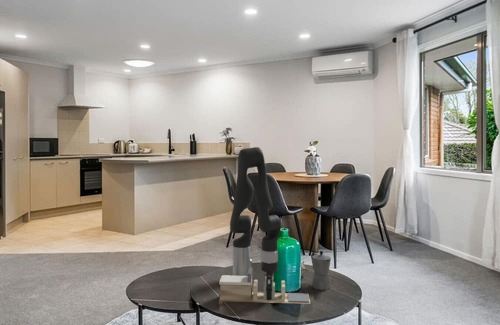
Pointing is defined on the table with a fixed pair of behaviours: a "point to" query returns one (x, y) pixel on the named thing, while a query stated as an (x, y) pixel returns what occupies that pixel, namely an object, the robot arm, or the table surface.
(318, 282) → the coffeepot
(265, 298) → the sage block
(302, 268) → the game die
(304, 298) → the slate pad
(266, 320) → the table surface
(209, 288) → the table surface
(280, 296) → the puzzle board
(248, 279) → the slide cover
